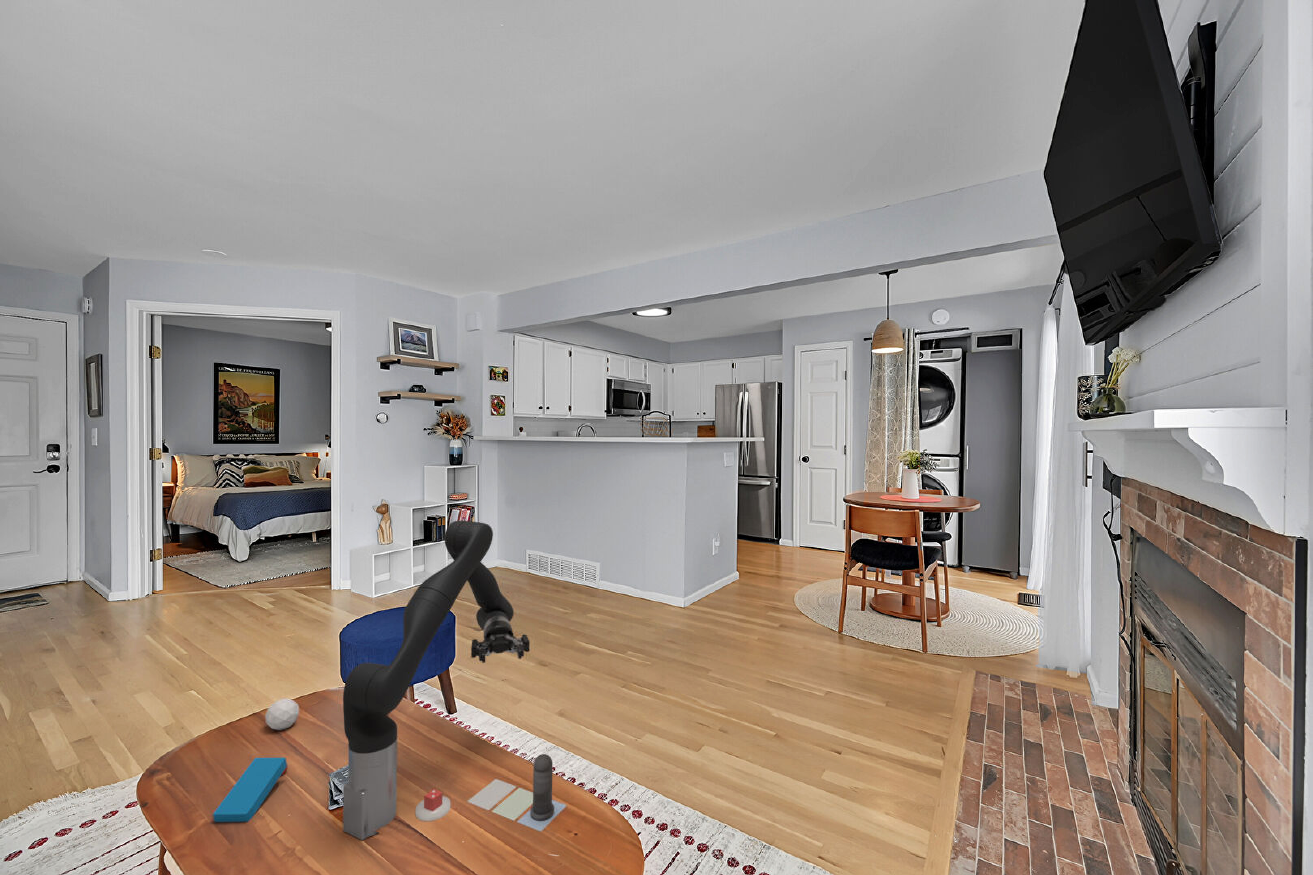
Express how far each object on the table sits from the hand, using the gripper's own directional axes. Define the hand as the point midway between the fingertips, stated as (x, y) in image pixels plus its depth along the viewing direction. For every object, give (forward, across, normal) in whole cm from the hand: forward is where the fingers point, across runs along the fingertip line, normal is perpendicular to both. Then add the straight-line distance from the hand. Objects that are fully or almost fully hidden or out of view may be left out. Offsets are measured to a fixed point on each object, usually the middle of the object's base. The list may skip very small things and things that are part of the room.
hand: (502, 656), depth 139 cm
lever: (-7, -52, +29) cm, 60 cm away
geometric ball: (-38, -56, +28) cm, 73 cm away
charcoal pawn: (+20, +7, +27) cm, 34 cm away
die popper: (+12, -15, +28) cm, 34 cm away
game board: (+15, +2, +28) cm, 32 cm away
